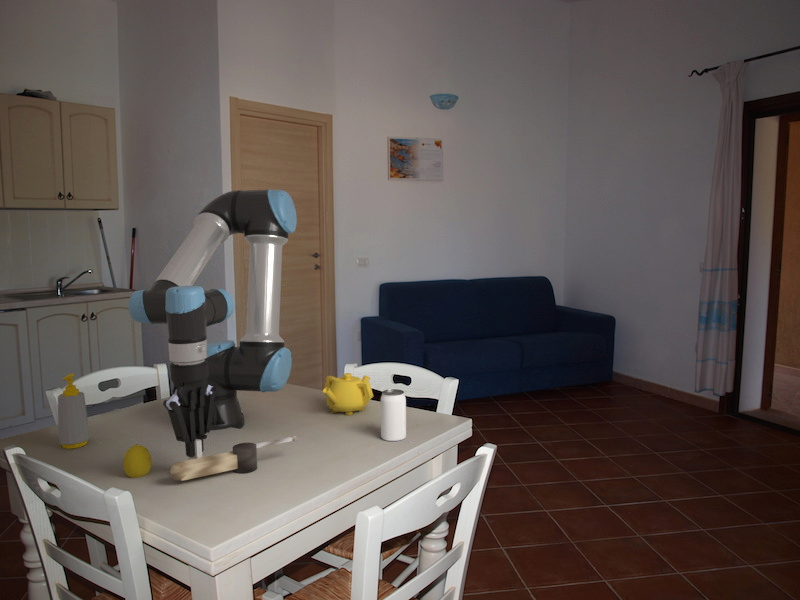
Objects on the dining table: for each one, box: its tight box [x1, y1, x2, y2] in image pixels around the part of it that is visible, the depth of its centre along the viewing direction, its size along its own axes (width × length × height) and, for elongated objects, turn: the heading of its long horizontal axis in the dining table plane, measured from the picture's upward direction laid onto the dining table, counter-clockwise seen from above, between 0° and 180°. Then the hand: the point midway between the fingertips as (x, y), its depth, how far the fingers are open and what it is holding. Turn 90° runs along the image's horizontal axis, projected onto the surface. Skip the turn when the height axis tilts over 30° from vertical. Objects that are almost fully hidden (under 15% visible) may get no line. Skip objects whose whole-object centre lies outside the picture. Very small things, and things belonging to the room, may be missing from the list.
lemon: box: [122, 443, 153, 479], centre depth 126 cm, size 6×6×8 cm
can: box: [380, 388, 407, 443], centre depth 150 cm, size 6×6×12 cm
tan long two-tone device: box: [169, 434, 298, 482], centre depth 127 cm, size 27×5×5 cm, turn 122°
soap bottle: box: [57, 373, 91, 450], centre depth 147 cm, size 7×7×18 cm
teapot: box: [322, 372, 374, 417], centre depth 174 cm, size 20×18×11 cm
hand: (196, 469), depth 125 cm, fingers closed
